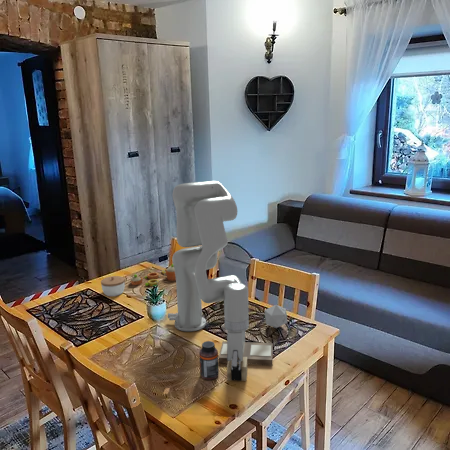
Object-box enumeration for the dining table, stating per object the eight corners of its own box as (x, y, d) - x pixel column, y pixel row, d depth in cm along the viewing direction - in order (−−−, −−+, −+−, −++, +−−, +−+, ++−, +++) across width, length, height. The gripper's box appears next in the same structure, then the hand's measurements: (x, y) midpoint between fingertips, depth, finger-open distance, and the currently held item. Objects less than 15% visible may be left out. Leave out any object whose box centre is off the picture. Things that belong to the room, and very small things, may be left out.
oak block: (227, 380, 138) (227, 366, 137) (229, 369, 144) (228, 356, 143) (246, 381, 138) (246, 367, 137) (247, 370, 144) (247, 356, 142)
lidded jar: (107, 290, 212) (106, 272, 210) (129, 291, 211) (127, 273, 209) (98, 299, 202) (96, 280, 200) (120, 300, 201) (119, 281, 198)
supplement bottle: (200, 370, 144) (198, 339, 141) (218, 369, 144) (217, 338, 141) (200, 381, 138) (199, 349, 135) (219, 380, 138) (218, 348, 136)
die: (286, 334, 166) (287, 309, 164) (263, 332, 168) (263, 308, 166) (288, 323, 174) (288, 300, 172) (265, 322, 176) (265, 299, 174)
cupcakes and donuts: (170, 273, 234) (169, 256, 232) (187, 281, 223) (186, 263, 221) (126, 286, 218) (124, 268, 215) (142, 295, 206) (141, 276, 204)
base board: (218, 362, 148) (218, 357, 147) (222, 346, 159) (222, 340, 158) (272, 365, 146) (272, 359, 145) (272, 348, 156) (272, 342, 156)
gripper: (227, 310, 145) (229, 358, 150) (221, 335, 129) (222, 389, 133) (250, 310, 144) (250, 359, 149) (246, 336, 128) (247, 390, 132)
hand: (237, 373), depth 141 cm, fingers open, 6 cm apart
